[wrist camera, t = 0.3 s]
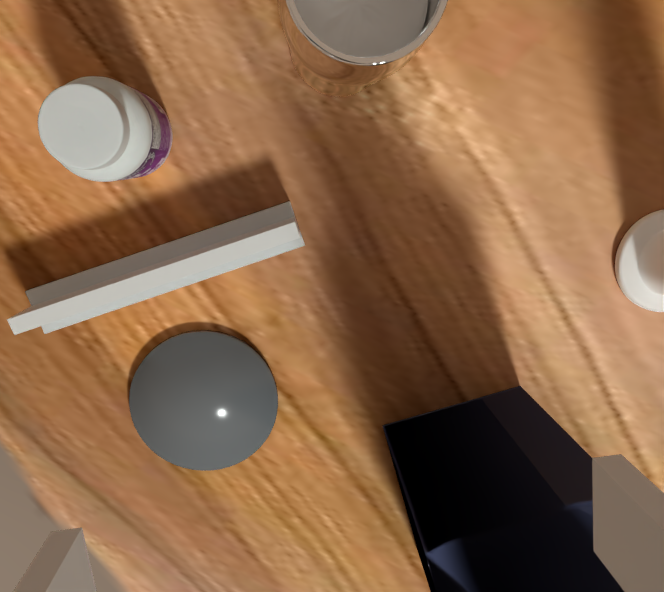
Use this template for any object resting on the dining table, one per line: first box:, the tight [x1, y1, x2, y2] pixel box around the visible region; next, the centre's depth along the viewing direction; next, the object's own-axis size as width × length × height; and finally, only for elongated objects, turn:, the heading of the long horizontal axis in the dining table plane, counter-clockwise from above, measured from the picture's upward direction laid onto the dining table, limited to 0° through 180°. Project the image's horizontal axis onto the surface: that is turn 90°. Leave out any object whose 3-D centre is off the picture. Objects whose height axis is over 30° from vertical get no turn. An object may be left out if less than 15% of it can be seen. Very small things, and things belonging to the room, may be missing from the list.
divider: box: [7, 201, 305, 335], centre depth 38 cm, size 3×18×4 cm, turn 108°
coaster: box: [129, 330, 278, 470], centre depth 42 cm, size 10×10×1 cm
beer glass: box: [278, 0, 448, 97], centre depth 31 cm, size 7×7×15 cm
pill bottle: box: [38, 76, 172, 182], centre depth 34 cm, size 5×5×10 cm
